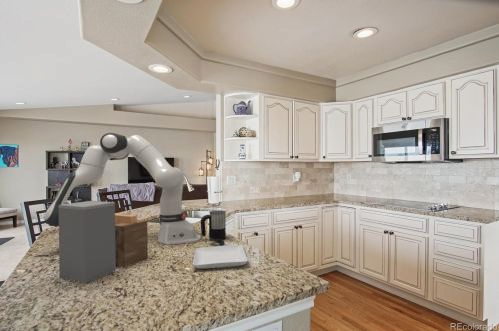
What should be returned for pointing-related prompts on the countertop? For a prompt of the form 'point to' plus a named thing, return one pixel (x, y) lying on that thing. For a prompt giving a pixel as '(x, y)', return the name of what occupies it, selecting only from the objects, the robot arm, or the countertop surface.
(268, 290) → the countertop surface
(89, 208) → the graphite cabinet
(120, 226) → the wooden grain cube
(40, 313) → the countertop surface
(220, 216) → the milk frother
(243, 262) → the salad plate
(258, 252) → the countertop surface
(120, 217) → the orange bar
